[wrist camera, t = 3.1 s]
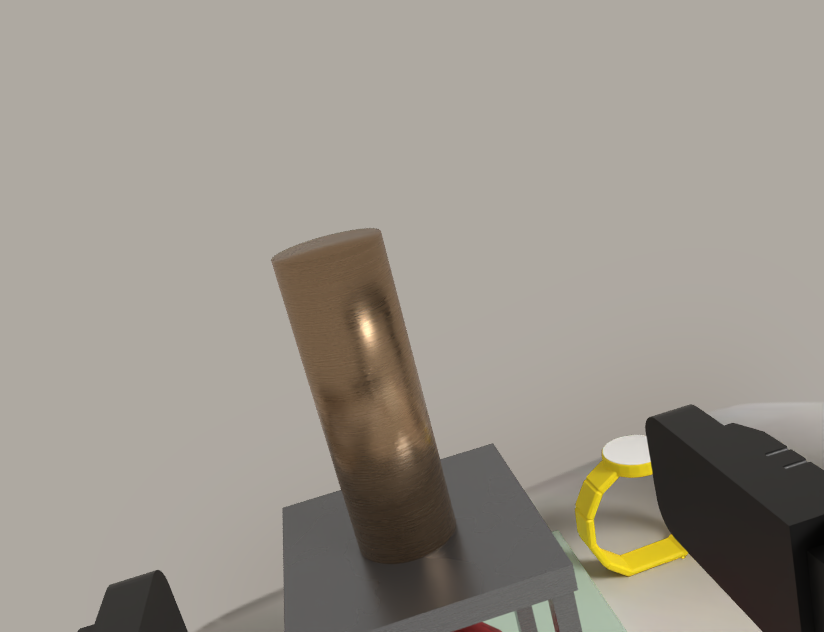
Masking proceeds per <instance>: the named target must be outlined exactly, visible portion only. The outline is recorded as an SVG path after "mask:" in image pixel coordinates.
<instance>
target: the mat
mask: <svg viewBox="0 0 824 632" xmlns="http://www.w3.org/2000/svg"><path fill="white" fill-rule="evenodd" d="M552 534H553V535H554V537H555V538H556V540H557V541H558V543H559V544H560V546H561V547H562V549H563V550H564V552H565V553H566V555H567V556H568V558H569V559H570V561H571V562H572V564H573V568H574V572H575V577H576V582H577V586H578V590H577V591H574V595H575V599H576V604H577V609H578V613H579V618H580V623H581V627H582V632H627V631H626V629H625V628H624V626H623V625H622V623H621V622H620V621H619V619H618V618H617V616H616V615H615V613H614V612H613V610H612V609H611V607H610V606H609V604H608V603H607V601H606V600H605V598H604V597H603V595H602V594H601V593H600V591H599V590H598V588H597V587H596V585H595V584H594V582H593V581H592V579H591V578H590V576H589V575H588V573H587V572H586V570H585V569H584V567H583V566H582V565H581V563H580V562H579V560H578V559H577V557H576V556H575V554H574V553H573V551H572V550H571V548H570V547H569V545H568V544H567V542H566V541H565V540H564V538H563V537H562V535H561V534H560V532H559V531H558V530H556V531H553V532H552ZM532 609H533V613H534V618H535V622H536V626H537V630H538V632H555V629H554V625H553V620H552V616H551V611H550V607H549V603H548V600H547V601H544V602H541V603H538V604H535V605H532ZM483 622H484V623H486V624H488V625H491V626H493V627H495V628H497V629H499V630H501V631H502V632H519V630H518V626H517V622H516V617H515V613H514V611H513V612H510V613H507V614H504V615H501V616H498V617H495V618H492V619H489V620H486V621H483Z"/></svg>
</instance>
